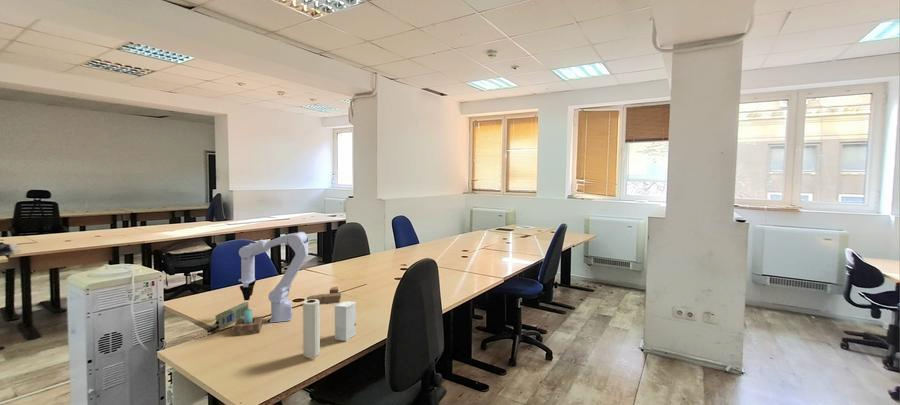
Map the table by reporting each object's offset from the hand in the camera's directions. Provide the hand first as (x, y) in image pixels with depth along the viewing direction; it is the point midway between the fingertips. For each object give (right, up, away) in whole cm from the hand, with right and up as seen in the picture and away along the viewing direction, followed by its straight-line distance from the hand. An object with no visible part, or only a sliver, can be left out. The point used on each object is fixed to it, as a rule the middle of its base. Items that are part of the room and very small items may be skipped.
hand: (248, 297), depth 189 cm
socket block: (+7, -11, -13) cm, 19 cm away
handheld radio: (-6, -11, -6) cm, 14 cm away
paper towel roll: (+44, -14, -37) cm, 59 cm away
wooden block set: (+26, -10, +33) cm, 43 cm away
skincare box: (+53, -13, -19) cm, 57 cm away
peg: (+7, -11, -13) cm, 19 cm away
